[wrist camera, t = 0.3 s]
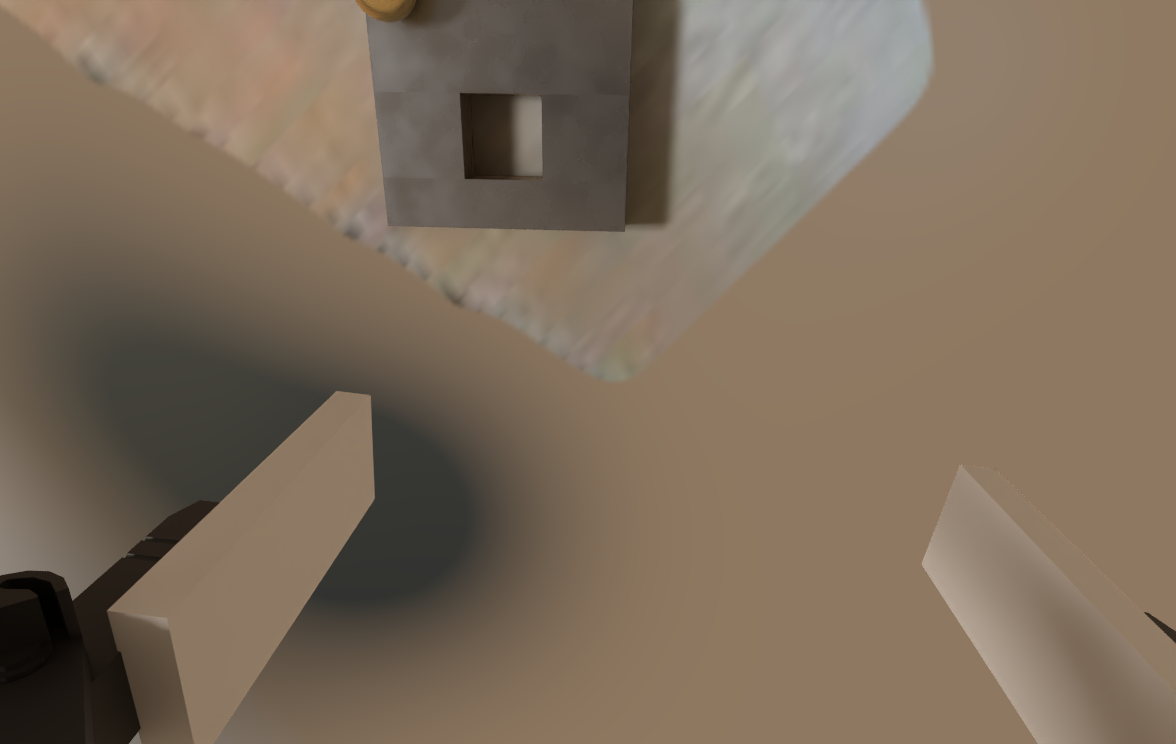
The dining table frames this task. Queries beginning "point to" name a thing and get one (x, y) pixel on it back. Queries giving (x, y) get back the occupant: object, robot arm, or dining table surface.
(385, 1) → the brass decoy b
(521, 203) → the plate
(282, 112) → the dining table surface
